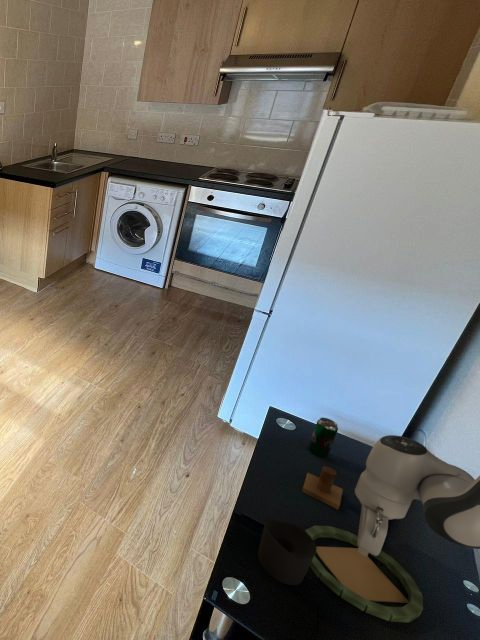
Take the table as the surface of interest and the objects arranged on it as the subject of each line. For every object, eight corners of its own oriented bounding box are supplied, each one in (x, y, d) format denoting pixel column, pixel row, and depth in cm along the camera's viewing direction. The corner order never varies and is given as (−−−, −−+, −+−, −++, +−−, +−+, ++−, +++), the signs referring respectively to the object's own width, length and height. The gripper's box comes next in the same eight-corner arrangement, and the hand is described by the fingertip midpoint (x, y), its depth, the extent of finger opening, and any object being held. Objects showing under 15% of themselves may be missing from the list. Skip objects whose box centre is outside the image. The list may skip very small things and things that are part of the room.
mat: (359, 549, 100) (360, 548, 100) (409, 603, 89) (409, 602, 89) (311, 547, 101) (311, 546, 100) (353, 600, 89) (354, 599, 89)
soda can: (309, 444, 134) (319, 414, 131) (328, 452, 131) (339, 422, 127) (306, 452, 131) (317, 421, 127) (327, 461, 127) (338, 430, 124)
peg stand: (341, 493, 116) (349, 471, 114) (338, 510, 111) (347, 487, 108) (306, 476, 122) (313, 455, 119) (301, 491, 116) (309, 469, 114)
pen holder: (292, 596, 90) (305, 564, 87) (247, 559, 97) (257, 528, 94) (311, 574, 94) (324, 543, 91) (267, 540, 102) (277, 510, 99)
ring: (419, 575, 94) (422, 569, 94) (420, 646, 81) (423, 640, 80) (308, 516, 109) (310, 511, 108) (293, 568, 95) (295, 562, 95)
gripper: (399, 534, 87) (378, 580, 91) (400, 481, 101) (382, 523, 105) (360, 515, 91) (341, 559, 96) (366, 466, 105) (350, 507, 109)
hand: (363, 539), depth 100 cm, fingers open, 8 cm apart
